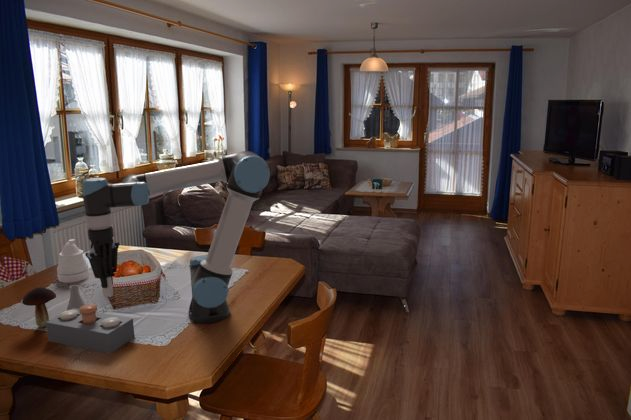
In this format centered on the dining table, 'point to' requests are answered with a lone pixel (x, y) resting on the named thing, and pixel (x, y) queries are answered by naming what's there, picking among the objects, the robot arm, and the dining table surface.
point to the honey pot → (72, 264)
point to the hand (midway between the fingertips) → (108, 295)
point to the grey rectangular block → (91, 332)
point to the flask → (75, 298)
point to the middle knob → (88, 313)
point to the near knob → (110, 322)
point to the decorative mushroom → (39, 303)
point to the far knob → (68, 315)
